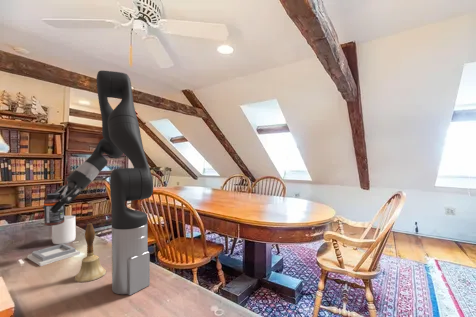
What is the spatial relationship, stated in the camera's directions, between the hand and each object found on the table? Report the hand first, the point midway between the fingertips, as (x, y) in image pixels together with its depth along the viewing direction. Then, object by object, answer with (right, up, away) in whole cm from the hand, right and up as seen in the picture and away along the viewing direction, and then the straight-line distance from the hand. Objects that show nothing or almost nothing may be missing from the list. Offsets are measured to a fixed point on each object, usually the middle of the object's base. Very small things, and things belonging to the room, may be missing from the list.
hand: (48, 210), depth 87 cm
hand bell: (+24, -17, -13) cm, 32 cm away
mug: (-8, -17, +18) cm, 27 cm away
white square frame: (+1, -17, +1) cm, 17 cm away
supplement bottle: (+1, -5, +2) cm, 6 cm away
